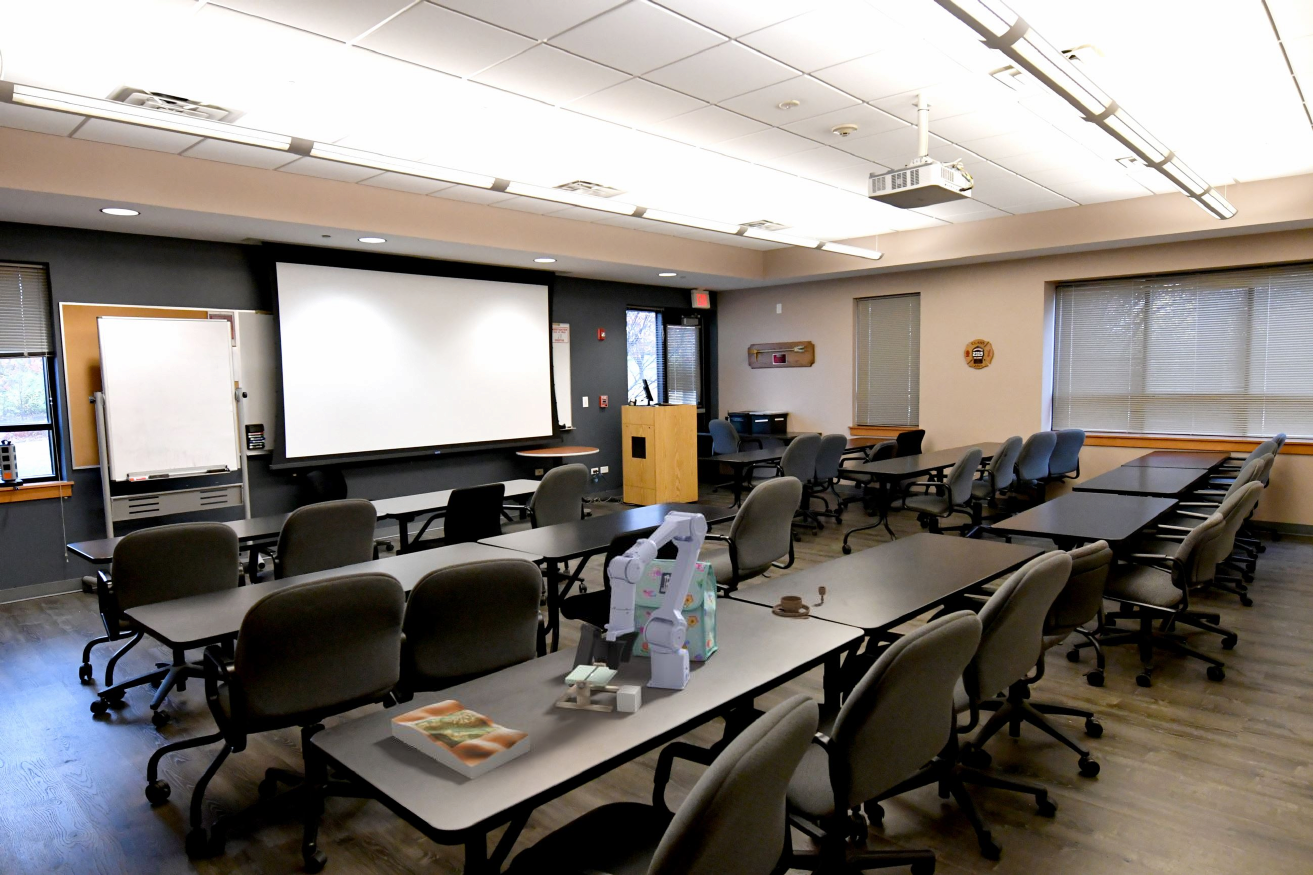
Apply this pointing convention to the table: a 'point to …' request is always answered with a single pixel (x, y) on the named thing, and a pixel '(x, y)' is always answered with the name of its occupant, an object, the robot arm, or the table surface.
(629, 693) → the light grey cube
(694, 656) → the lunch bag
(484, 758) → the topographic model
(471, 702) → the table surface
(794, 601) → the place setting
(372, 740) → the table surface
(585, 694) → the trapdoor frame
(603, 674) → the trapdoor
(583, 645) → the phone stand
